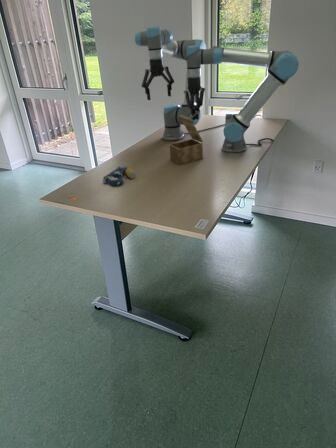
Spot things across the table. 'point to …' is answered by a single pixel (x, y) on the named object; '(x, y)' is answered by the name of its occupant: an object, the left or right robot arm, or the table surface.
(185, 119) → the lid
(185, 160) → the chest
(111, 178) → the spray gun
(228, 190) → the table surface
